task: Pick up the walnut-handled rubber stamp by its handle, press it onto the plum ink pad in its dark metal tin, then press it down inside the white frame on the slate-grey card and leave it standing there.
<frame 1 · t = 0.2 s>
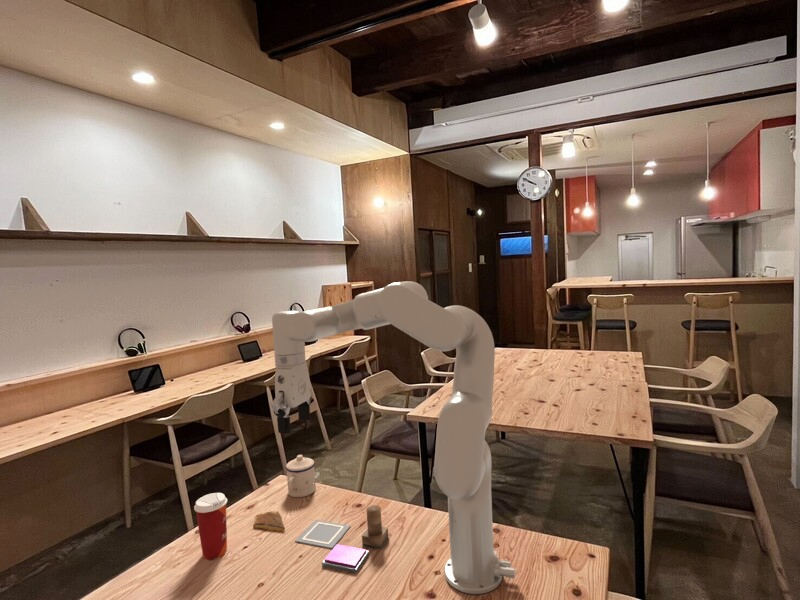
hand: (294, 425, 111), 31 cm above the table, tool pointing down, fingers open, 9 cm apart
shard: (274, 524, 123), on the table
stamp: (375, 542, 111), on the table
marked card: (323, 534, 115), on the table
paper cup: (215, 553, 110), on the table
ink pad: (346, 560, 104), on the table
teacup with lid: (300, 493, 139), on the table
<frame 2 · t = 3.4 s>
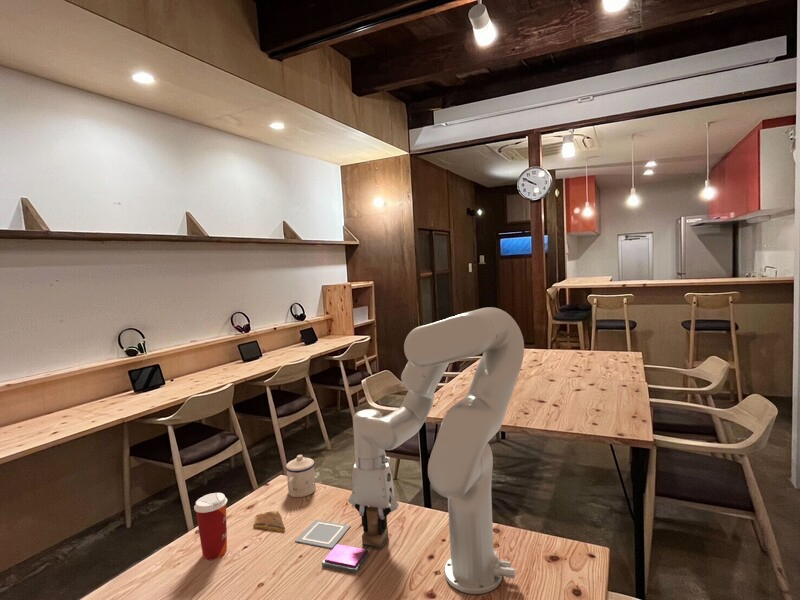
hand: (374, 529, 110), 3 cm above the table, tool pointing down, fingers closed on stamp, 3 cm apart
stamp: (375, 542, 111), on the table, touching gripper
everything else where it was.
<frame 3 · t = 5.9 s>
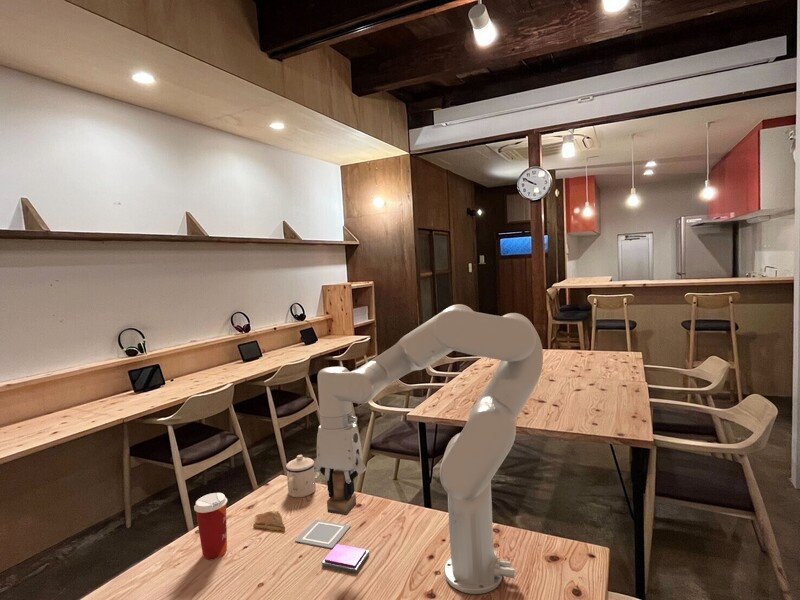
hand: (341, 495, 103), 16 cm above the table, tool pointing down, fingers closed on stamp, 3 cm apart
stamp: (342, 508, 103), point 13 cm above the table, touching gripper
everything else where it was.
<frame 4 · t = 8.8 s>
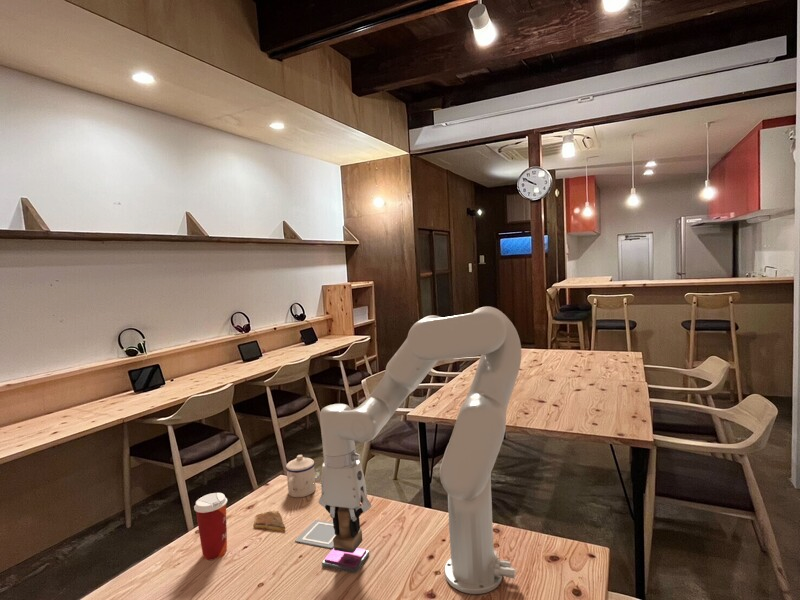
hand: (347, 532, 103), 7 cm above the table, tool pointing down, fingers closed on stamp, 3 cm apart
stamp: (348, 545, 104), point 4 cm above the table, touching gripper
everything else where it was.
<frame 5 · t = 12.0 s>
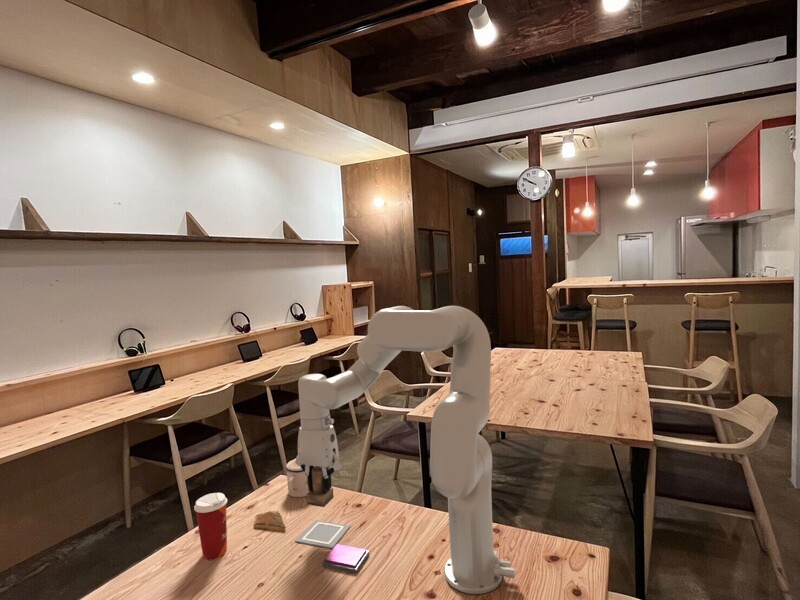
hand: (319, 489, 115), 12 cm above the table, tool pointing down, fingers closed on stamp, 3 cm apart
stamp: (320, 501, 115), point 9 cm above the table, touching gripper
everything else where it was.
when the fingers open (4 cm above the table, at t = 14.2 s): stamp stays where it is, resting on marked card.
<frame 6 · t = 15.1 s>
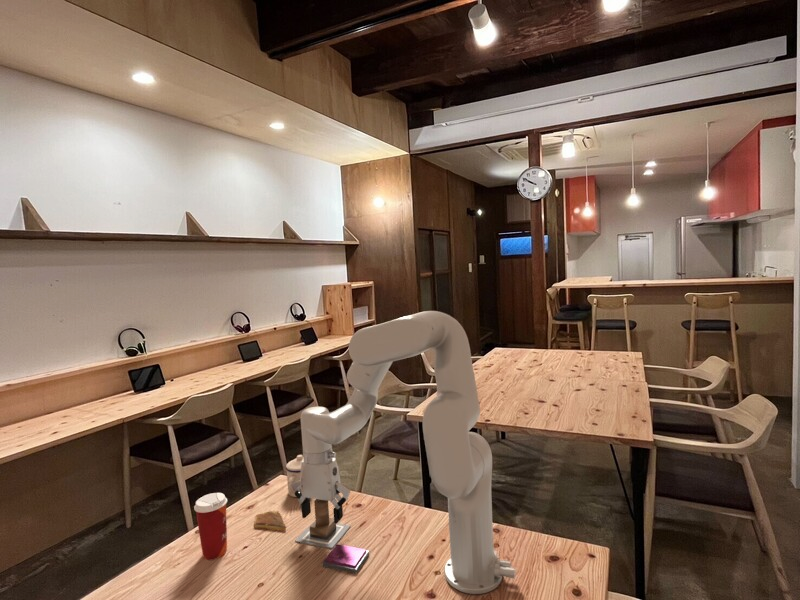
hand: (322, 518, 115), 4 cm above the table, tool pointing down, fingers open, 9 cm apart
stamp: (323, 533, 115), resting on marked card
everything else where it was.
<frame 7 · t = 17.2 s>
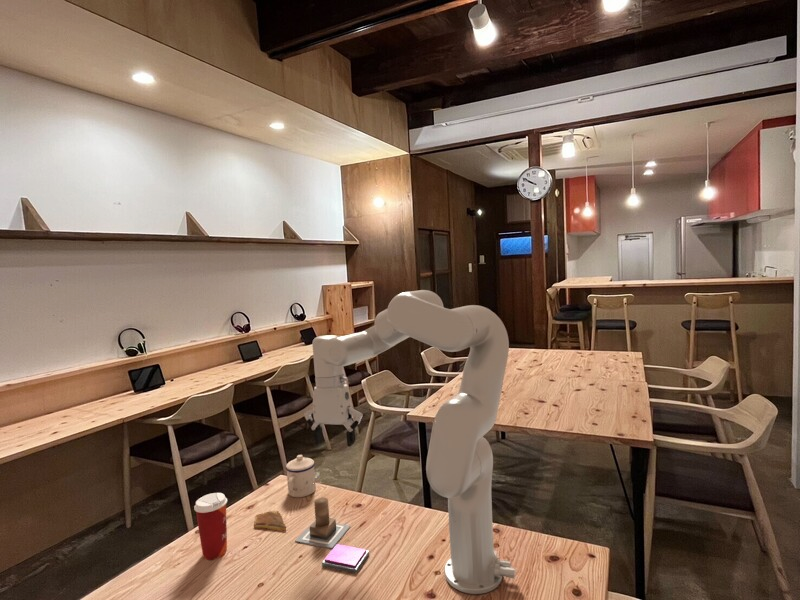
hand: (335, 443, 118), 23 cm above the table, tool pointing down, fingers open, 9 cm apart
nothing on the table moved.
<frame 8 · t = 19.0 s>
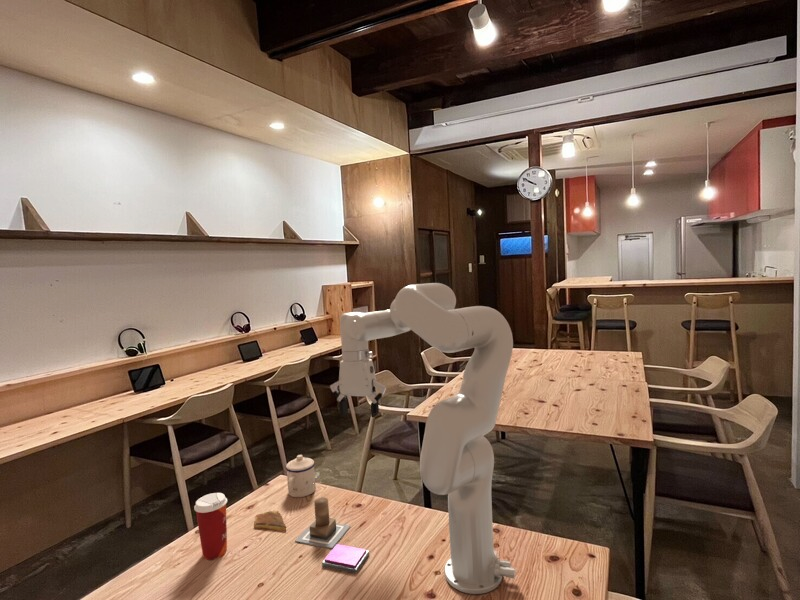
hand: (359, 414, 124), 28 cm above the table, tool pointing down, fingers open, 9 cm apart
nothing on the table moved.
at the end: stamp 0.0 cm off-centre on the marked card, point 0.3 cm above the marked card's base; stamp tilted 0°; the gripper is holding nothing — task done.
